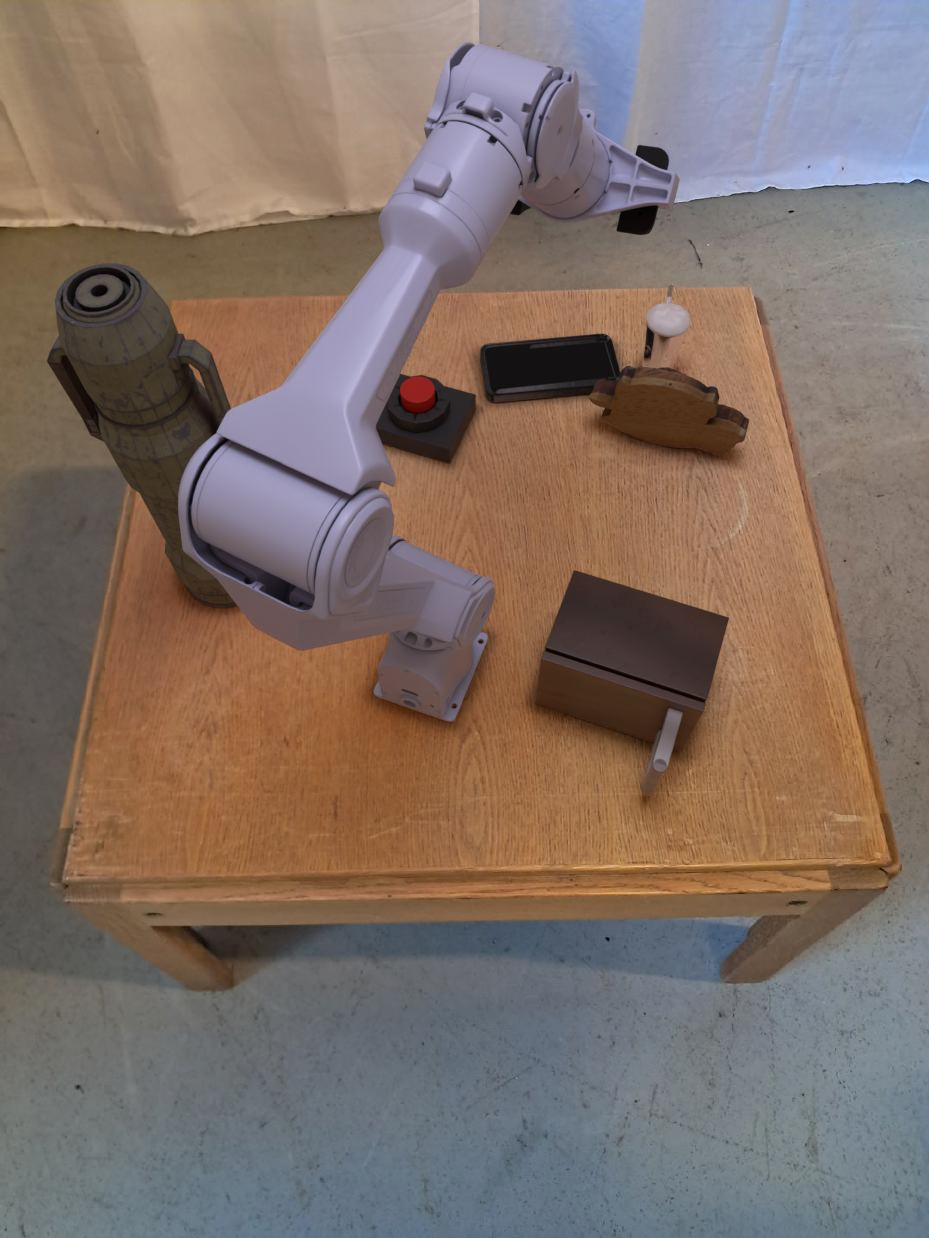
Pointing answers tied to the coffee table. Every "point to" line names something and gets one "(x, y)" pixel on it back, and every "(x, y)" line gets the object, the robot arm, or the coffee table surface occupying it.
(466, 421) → the switch block
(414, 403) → the button
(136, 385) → the thermos
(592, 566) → the coffee table surface
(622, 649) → the cupboard
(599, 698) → the door
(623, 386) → the wooden carving
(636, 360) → the coffee table surface
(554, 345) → the phone
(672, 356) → the milkshake
